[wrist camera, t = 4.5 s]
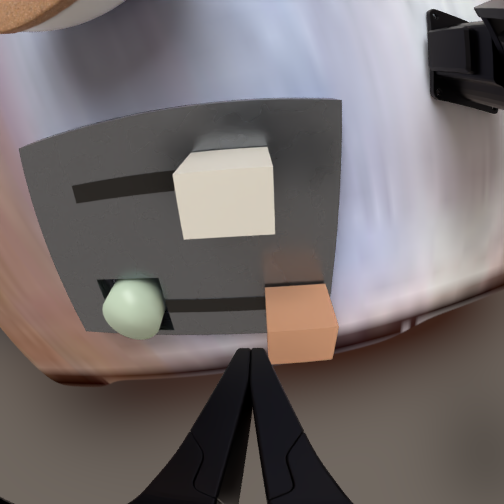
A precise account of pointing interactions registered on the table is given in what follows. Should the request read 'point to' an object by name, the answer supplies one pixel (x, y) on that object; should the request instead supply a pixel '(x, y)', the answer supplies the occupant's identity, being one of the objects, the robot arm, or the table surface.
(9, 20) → the lidded jar
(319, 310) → the slider
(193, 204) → the slider
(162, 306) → the button
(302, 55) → the table surface
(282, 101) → the panel
